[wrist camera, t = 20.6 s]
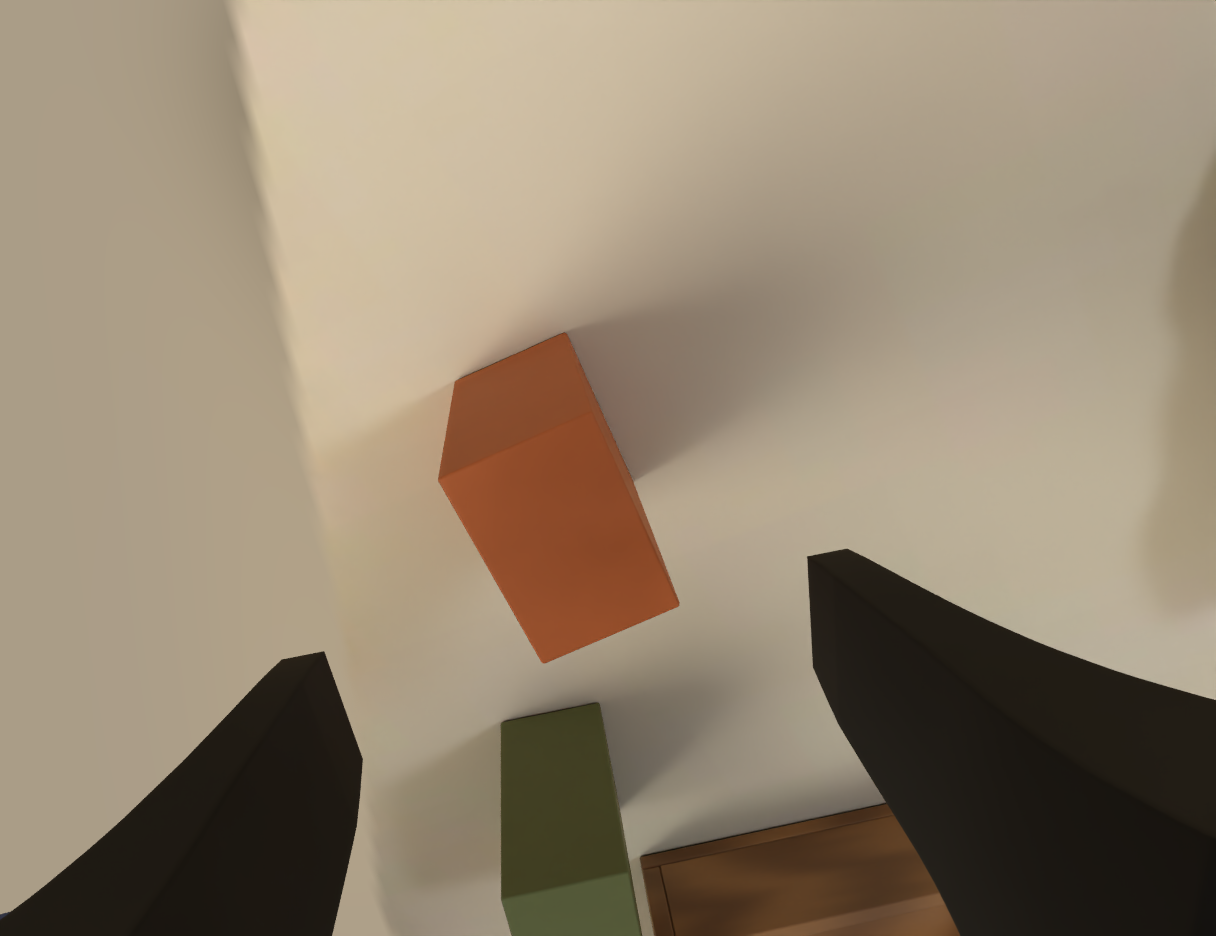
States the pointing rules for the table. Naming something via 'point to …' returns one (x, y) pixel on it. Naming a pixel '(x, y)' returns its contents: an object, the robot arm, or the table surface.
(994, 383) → the table surface
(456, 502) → the orange rectangular block
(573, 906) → the block
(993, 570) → the table surface
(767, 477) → the table surface
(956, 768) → the robot arm
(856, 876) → the wooden tray
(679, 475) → the table surface
